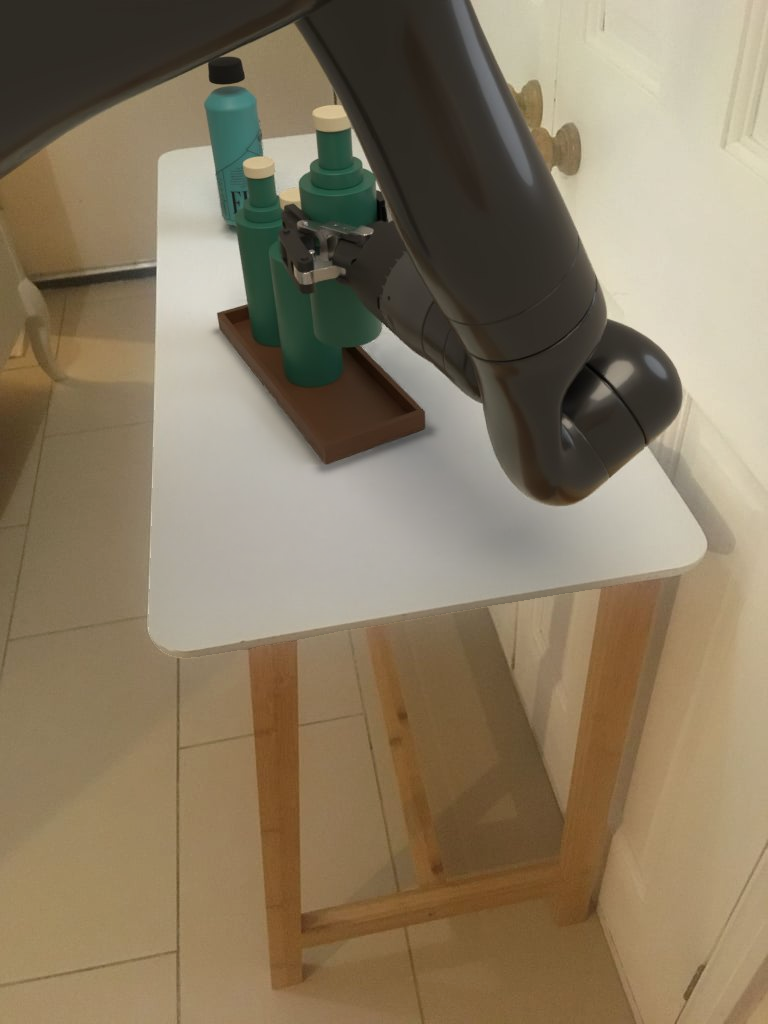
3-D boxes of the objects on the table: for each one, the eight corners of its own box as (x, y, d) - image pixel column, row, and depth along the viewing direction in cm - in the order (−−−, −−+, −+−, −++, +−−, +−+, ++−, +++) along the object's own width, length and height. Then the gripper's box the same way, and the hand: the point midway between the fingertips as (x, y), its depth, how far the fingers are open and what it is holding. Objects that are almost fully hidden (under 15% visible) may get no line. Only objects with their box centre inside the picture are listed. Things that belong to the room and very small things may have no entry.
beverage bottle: (231, 242, 110) (204, 71, 96) (216, 222, 114) (189, 56, 101) (280, 231, 112) (260, 62, 98) (264, 212, 116) (243, 48, 103)
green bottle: (304, 343, 74) (279, 122, 62) (327, 309, 78) (308, 96, 66) (370, 351, 73) (358, 127, 60) (390, 316, 77) (382, 100, 65)
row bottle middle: (275, 382, 86) (250, 205, 74) (296, 351, 90) (277, 177, 78) (331, 391, 84) (316, 211, 72) (350, 358, 89) (339, 183, 76)
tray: (425, 428, 80) (425, 411, 79) (325, 464, 77) (324, 446, 76) (305, 304, 98) (303, 288, 97) (219, 329, 95) (216, 312, 93)
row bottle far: (243, 343, 91) (215, 171, 79) (264, 315, 96) (241, 148, 83) (296, 350, 90) (276, 177, 78) (315, 321, 94) (299, 152, 82)
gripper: (524, 215, 59) (402, 140, 70) (332, 268, 54) (235, 179, 65) (516, 314, 64) (404, 230, 75) (341, 370, 59) (249, 272, 70)
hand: (326, 207), depth 70 cm, fingers closed on green bottle, 6 cm apart
